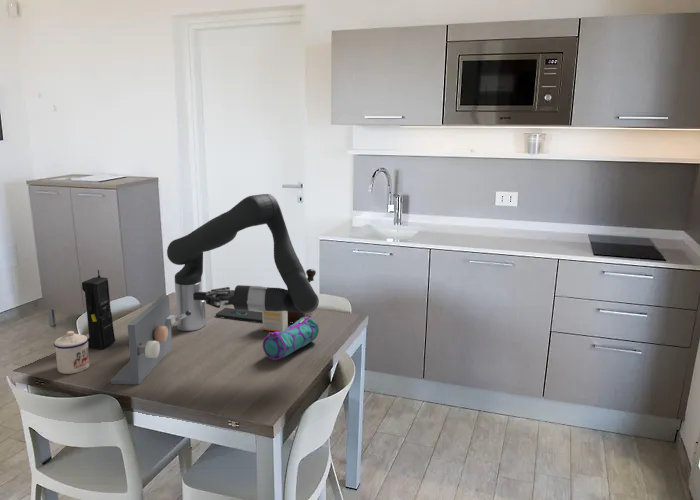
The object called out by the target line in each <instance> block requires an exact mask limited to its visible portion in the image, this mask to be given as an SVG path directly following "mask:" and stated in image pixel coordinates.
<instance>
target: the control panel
mask: <svg viewBox="0 0 700 500" xmlns="http://www.w3.org/2000/svg"><path fill="white" fill-rule="evenodd" d="M170 302H171V301H170V295H169V294H162V295H161V296H160V297H159V298H158V299H157V300H155V301H154V302H153V303H152V304H151V305H149V306H148V307H147V308H146V309H144V310H143V311H142V312H141V313H140V314H138V316H136V317H135V318H134V319H133V320H132V321H130V322H129V323H128V324H127V334H128V346H129V347H128V348H129V349H128V351H129V361H128V363H126V364H125V365H124V366H123V367H122V368H121V369H120V370H119V371H118V372H117V373H116V374H115V375H114V376H113V377H112V378H111V379H110V381H111V383H110V384H113V385H140V384H141V383H142V382H143V381H144V380H145V379H146V377H147V376H148V375H149V374H150V372H152V370H153V369H154V368H155V367H156V366H157V364H159V362H160V361H161V360H162V359H163V358H164V357H165V355H166V354H167V353H168V352H169V351H170V350H171V348H173V339H172V327H173V325H174V324H175V323H176V321H175V318H176V314H175V315H174V314H171V305H170ZM157 326H167V328H168V337H167V340H166V342H159V344H160V351H159V355H158V357H157V358H147V357H146V356H145V353H138V350H137V346H138V345H146V343H147V342H148V341H155V338H153V331H154V330H155V329H156V327H157Z"/></svg>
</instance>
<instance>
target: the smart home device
mask: <svg viewBox="0 0 700 500" xmlns="http://www.w3.org/2000/svg"><path fill="white" fill-rule="evenodd" d="M216 316H217V317H216ZM215 317H216V318H220V317H224V318H223V319H228V318H230V319H229V320H236V319H238V320H237V321H243V320H244V321H245V322H251V321H253V322H252V323H259V322H263V319H262V311H239V310H235V309H234V308H232V307H231V308H230V307H224V308H222V309H221V310H220V311H218V312H217V313H215ZM244 321H243V322H244ZM254 321H255V322H254Z"/></svg>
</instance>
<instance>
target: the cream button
mask: <svg viewBox="0 0 700 500" xmlns="http://www.w3.org/2000/svg"><path fill="white" fill-rule="evenodd" d="M137 350H138V353H145V356H146V357H147V358H157V357H158V355H159V351H160V344H159V342H158V341H148V342H147V343H146V345H138V346H137Z"/></svg>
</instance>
